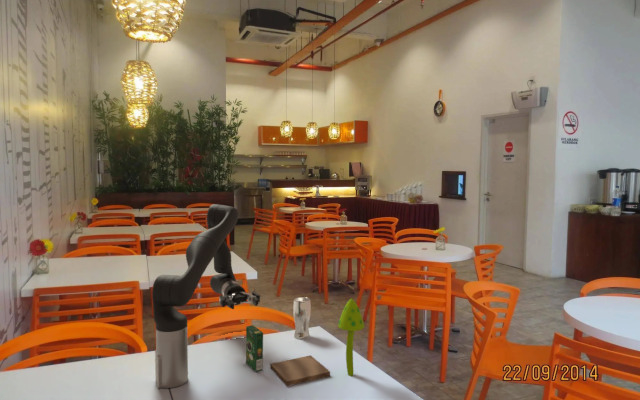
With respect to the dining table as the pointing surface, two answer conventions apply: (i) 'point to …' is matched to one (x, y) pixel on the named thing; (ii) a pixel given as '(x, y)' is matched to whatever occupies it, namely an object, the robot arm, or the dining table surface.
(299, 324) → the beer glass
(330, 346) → the dining table surface
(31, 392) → the dining table surface
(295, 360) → the walnut board
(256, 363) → the coffee box
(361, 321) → the mushroom
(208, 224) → the robot arm
